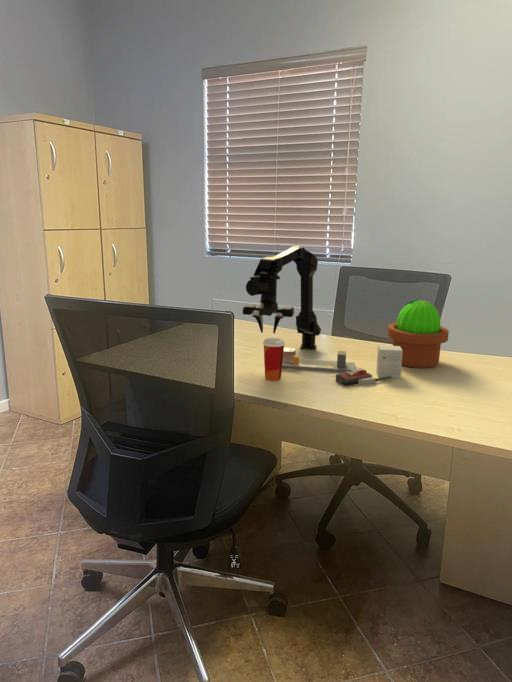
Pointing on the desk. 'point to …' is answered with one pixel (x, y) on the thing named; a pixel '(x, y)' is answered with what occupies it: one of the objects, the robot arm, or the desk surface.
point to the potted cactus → (418, 334)
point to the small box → (389, 361)
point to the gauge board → (323, 364)
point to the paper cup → (273, 358)
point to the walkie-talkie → (357, 378)
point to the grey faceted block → (288, 355)
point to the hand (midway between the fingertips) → (268, 333)
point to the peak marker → (296, 360)
